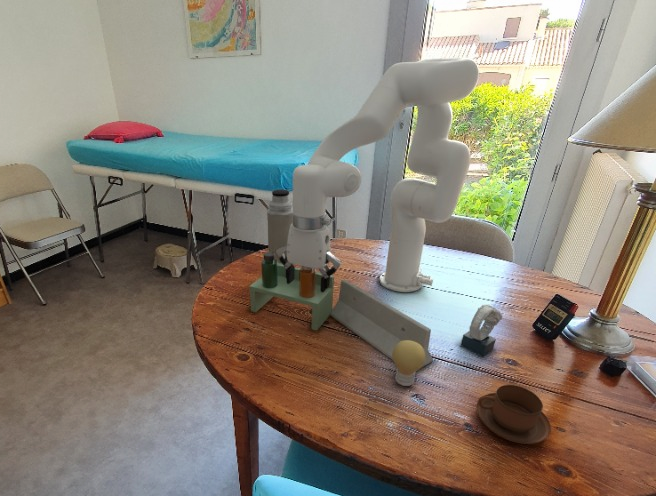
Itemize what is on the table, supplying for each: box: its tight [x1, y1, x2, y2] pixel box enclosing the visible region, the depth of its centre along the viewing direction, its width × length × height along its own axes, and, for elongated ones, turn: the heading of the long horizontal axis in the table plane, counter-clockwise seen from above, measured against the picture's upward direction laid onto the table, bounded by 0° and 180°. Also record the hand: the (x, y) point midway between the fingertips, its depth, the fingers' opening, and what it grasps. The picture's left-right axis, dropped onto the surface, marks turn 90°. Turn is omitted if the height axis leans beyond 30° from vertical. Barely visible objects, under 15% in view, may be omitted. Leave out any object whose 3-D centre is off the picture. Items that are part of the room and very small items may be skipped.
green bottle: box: [260, 251, 278, 288], centre depth 106 cm, size 4×4×9 cm
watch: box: [460, 304, 503, 358], centre depth 93 cm, size 6×8×11 cm
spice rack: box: [249, 263, 335, 331], centre depth 108 cm, size 20×10×11 cm, turn 60°
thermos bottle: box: [266, 189, 295, 266], centre depth 122 cm, size 8×8×28 cm
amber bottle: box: [299, 266, 317, 298], centre depth 101 cm, size 4×4×9 cm
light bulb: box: [392, 340, 425, 387], centre depth 83 cm, size 6×6×10 cm
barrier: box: [330, 278, 434, 368], centre depth 97 cm, size 28×7×10 cm, turn 32°
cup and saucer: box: [476, 384, 552, 445], centre depth 74 cm, size 12×12×6 cm
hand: (307, 285), depth 102 cm, fingers open, 9 cm apart
